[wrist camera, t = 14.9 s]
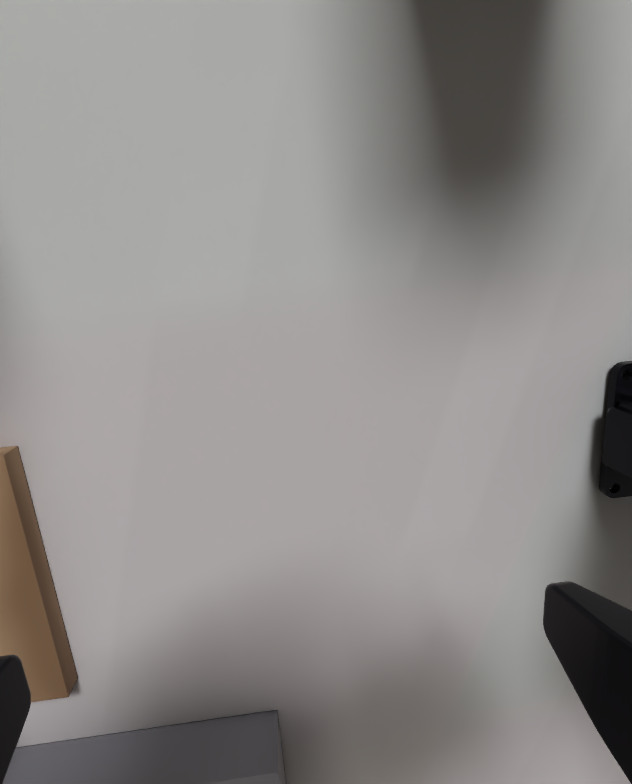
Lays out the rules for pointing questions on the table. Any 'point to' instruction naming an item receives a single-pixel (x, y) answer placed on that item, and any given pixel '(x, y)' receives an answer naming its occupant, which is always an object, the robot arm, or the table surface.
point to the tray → (161, 755)
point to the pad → (29, 591)
